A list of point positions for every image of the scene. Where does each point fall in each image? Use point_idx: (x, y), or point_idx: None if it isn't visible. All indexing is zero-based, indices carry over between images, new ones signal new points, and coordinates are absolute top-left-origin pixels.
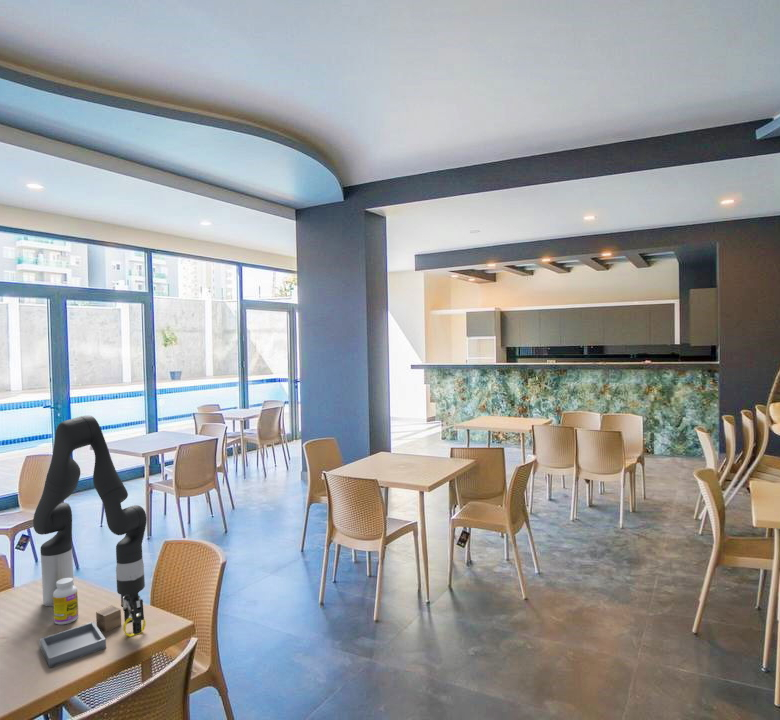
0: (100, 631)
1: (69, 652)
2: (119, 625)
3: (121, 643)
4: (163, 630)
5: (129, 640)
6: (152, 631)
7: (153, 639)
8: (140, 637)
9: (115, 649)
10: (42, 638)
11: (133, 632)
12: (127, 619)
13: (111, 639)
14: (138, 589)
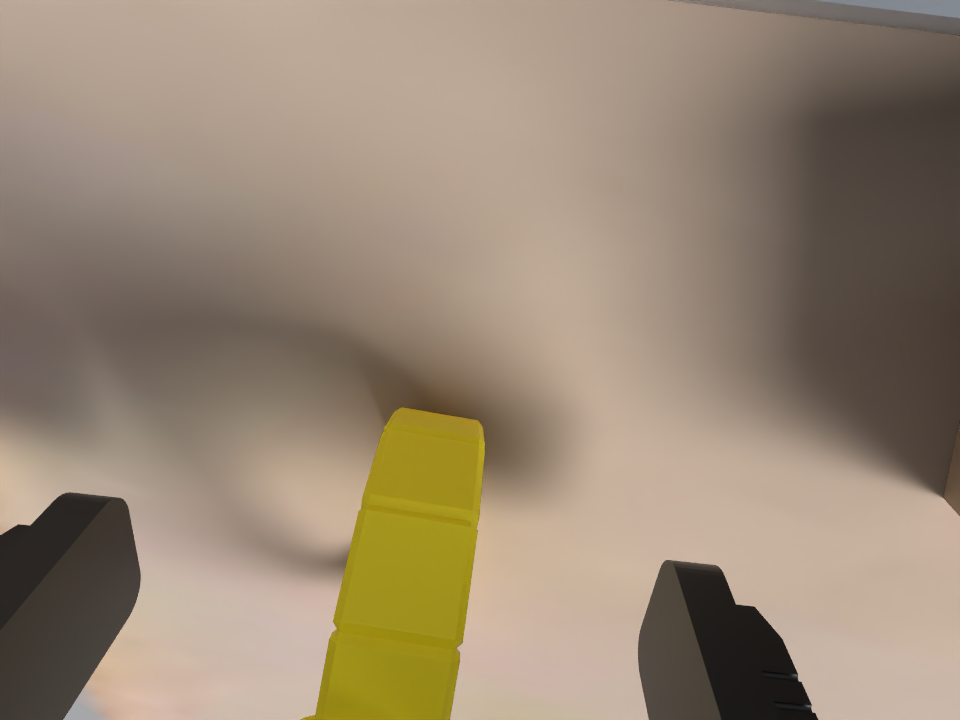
0: (862, 5)
1: None
2: (949, 472)
3: (276, 255)
4: (243, 714)
5: (286, 380)
6: (318, 647)
7: None
8: (262, 508)
9: (109, 85)
10: None
11: (49, 512)
12: (413, 689)
13: (587, 188)
14: None
